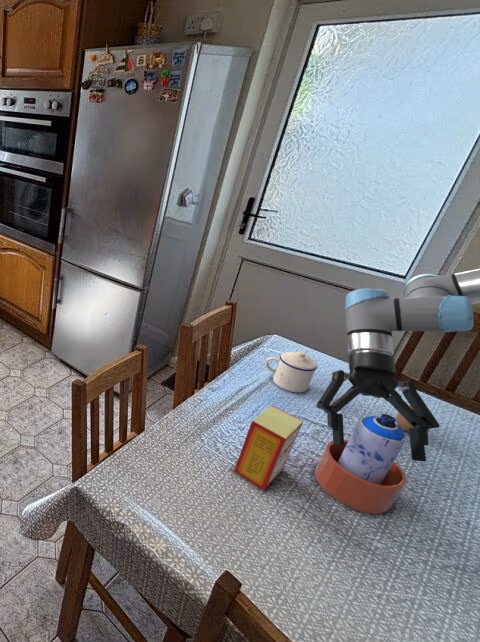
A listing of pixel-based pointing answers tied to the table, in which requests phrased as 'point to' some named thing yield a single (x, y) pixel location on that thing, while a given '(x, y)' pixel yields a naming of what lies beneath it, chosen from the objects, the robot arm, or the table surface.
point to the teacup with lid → (293, 371)
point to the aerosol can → (373, 448)
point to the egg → (403, 422)
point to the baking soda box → (267, 446)
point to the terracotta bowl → (357, 483)
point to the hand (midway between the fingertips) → (377, 452)
